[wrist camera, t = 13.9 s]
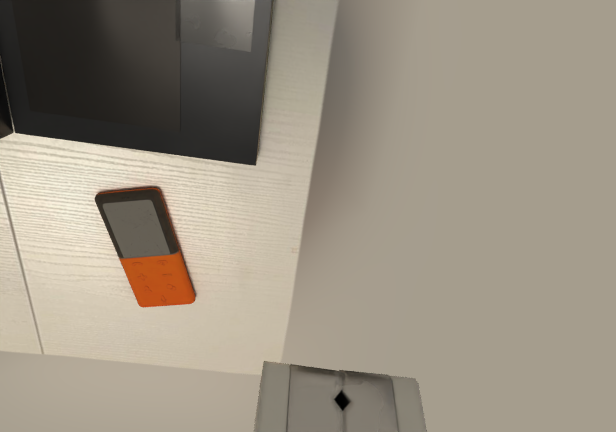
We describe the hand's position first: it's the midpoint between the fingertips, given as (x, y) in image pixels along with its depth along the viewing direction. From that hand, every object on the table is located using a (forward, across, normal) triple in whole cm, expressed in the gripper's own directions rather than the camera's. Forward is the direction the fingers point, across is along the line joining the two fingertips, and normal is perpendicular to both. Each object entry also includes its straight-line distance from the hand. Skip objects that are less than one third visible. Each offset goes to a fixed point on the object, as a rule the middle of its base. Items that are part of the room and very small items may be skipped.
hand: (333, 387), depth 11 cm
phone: (+37, +14, +29) cm, 49 cm away
